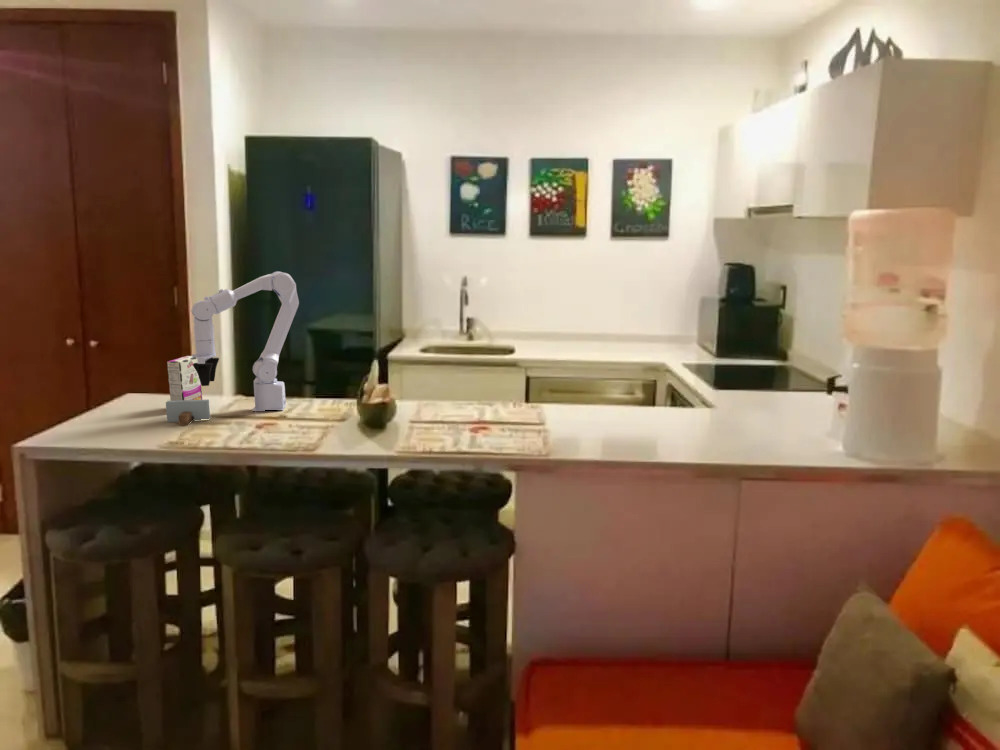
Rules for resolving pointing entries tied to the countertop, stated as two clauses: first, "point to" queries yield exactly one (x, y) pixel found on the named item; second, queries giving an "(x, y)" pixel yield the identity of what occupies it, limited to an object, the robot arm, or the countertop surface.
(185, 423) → the walnut slat
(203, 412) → the tapered grey panel
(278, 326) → the robot arm
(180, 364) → the candy bar box
